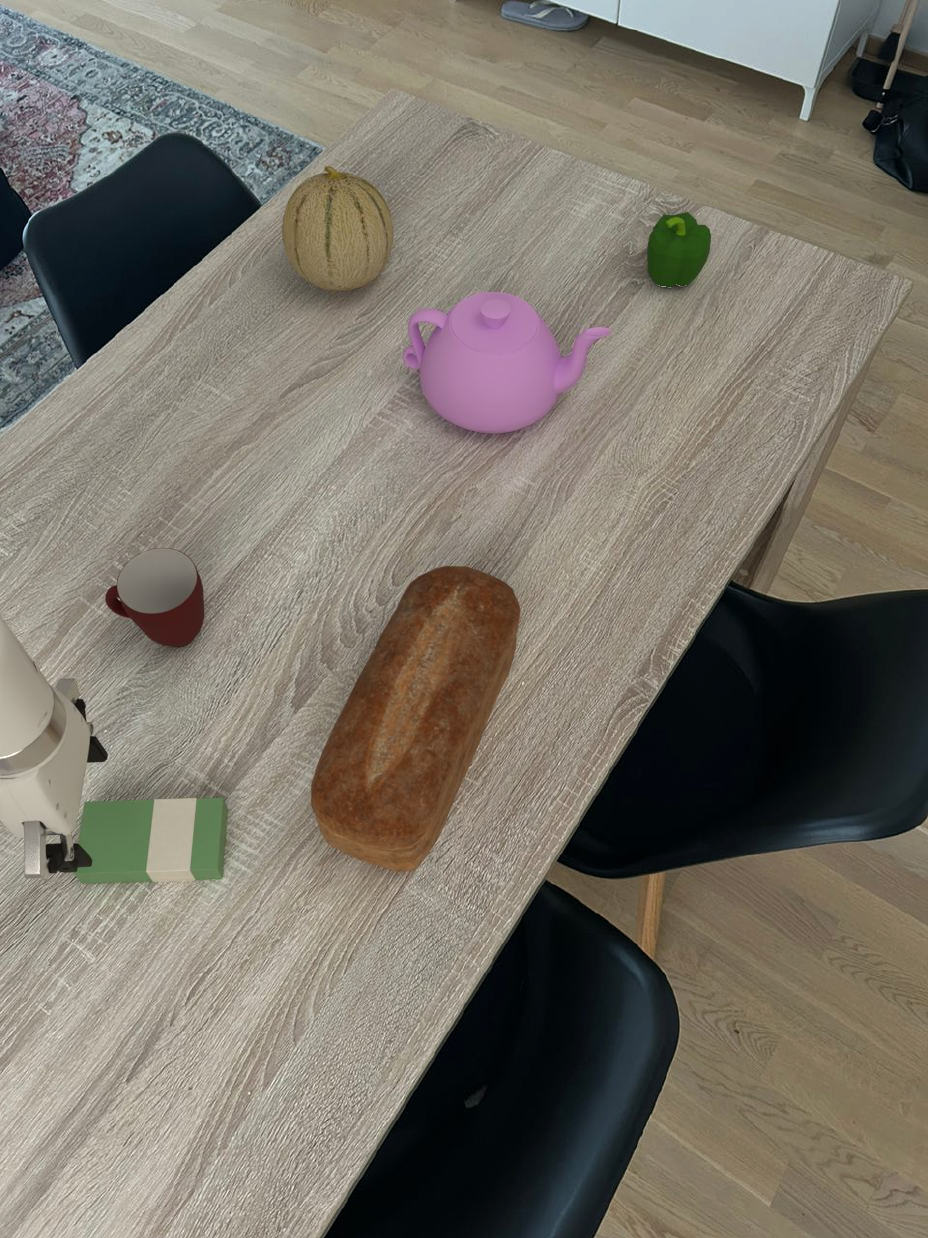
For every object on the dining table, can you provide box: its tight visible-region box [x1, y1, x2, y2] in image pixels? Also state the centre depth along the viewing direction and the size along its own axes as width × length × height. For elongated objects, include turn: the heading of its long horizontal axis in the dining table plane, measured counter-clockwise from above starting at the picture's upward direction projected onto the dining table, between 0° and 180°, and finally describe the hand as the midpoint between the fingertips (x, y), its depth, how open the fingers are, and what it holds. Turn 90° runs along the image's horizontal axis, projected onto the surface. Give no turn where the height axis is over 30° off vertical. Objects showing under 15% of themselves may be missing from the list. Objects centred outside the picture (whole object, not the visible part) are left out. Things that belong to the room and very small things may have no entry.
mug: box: [104, 547, 205, 649], centre depth 108 cm, size 11×8×10 cm
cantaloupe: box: [281, 165, 394, 292], centre depth 136 cm, size 15×15×15 cm
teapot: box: [402, 291, 612, 435], centre depth 126 cm, size 25×18×14 cm
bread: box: [310, 565, 521, 873], centre depth 100 cm, size 12×31×14 cm, turn 158°
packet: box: [73, 797, 229, 885], centre depth 98 cm, size 13×7×3 cm, turn 93°
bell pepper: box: [646, 211, 712, 288], centre depth 139 cm, size 8×8×10 cm
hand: (82, 810), depth 91 cm, fingers open, 9 cm apart
